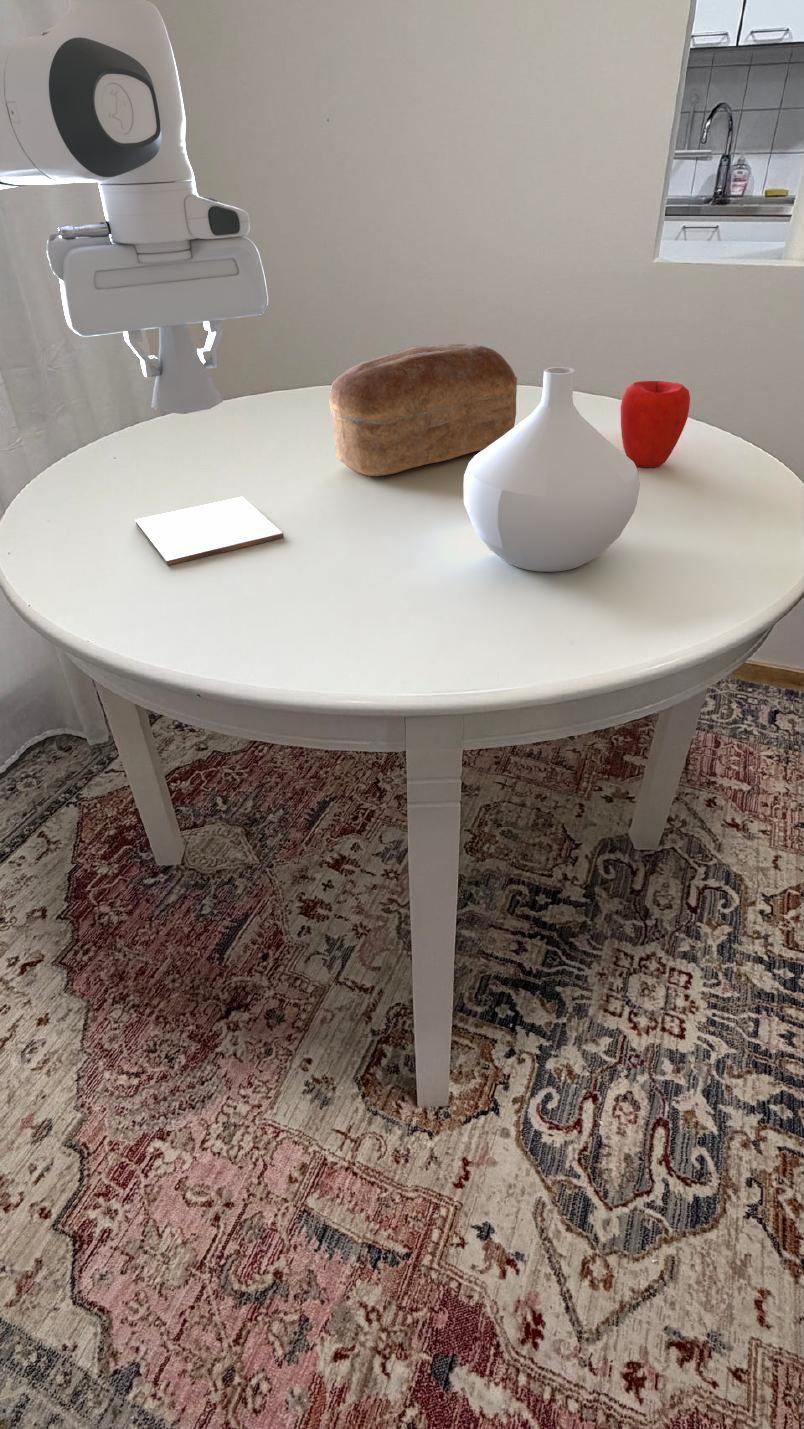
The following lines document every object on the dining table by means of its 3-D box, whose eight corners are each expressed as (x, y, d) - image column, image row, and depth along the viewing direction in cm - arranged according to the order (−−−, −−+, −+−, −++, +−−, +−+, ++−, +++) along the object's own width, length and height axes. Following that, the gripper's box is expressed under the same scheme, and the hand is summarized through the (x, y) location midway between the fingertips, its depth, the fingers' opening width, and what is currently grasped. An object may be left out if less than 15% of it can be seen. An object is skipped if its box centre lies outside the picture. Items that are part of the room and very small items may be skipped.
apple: (673, 452, 114) (687, 372, 108) (684, 473, 107) (700, 389, 101) (610, 452, 115) (620, 373, 109) (617, 473, 108) (628, 390, 102)
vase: (662, 574, 84) (696, 382, 72) (501, 603, 79) (511, 405, 68) (579, 511, 98) (597, 343, 87) (438, 534, 94) (438, 360, 82)
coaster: (167, 565, 89) (166, 560, 89) (136, 524, 99) (135, 519, 99) (284, 537, 94) (283, 533, 94) (243, 501, 104) (242, 496, 104)
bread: (322, 465, 115) (313, 358, 106) (476, 428, 127) (478, 329, 118) (366, 488, 106) (360, 375, 98) (526, 446, 119) (532, 342, 110)
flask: (183, 420, 83) (163, 313, 77) (139, 410, 86) (117, 307, 80) (235, 403, 87) (220, 302, 81) (191, 394, 91) (173, 296, 85)
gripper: (46, 229, 70) (87, 393, 78) (264, 213, 78) (280, 363, 86) (35, 224, 75) (75, 380, 83) (242, 209, 82) (260, 353, 91)
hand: (181, 371), depth 85 cm, fingers closed on flask, 5 cm apart
